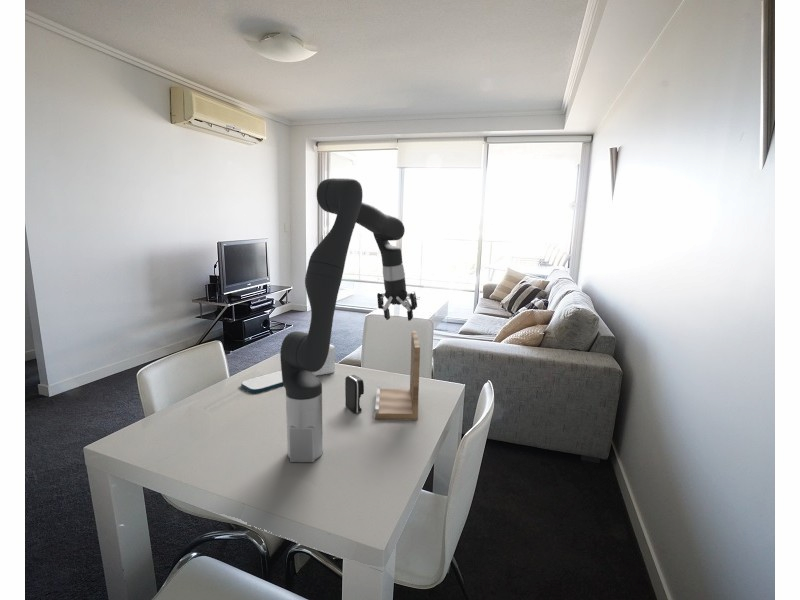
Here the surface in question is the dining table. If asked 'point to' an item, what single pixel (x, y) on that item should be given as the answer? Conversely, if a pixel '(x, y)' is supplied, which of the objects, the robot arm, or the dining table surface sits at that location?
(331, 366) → the photo printer
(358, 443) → the dining table surface
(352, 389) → the battery charger
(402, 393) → the shelf
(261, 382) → the external hard drive
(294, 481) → the dining table surface
